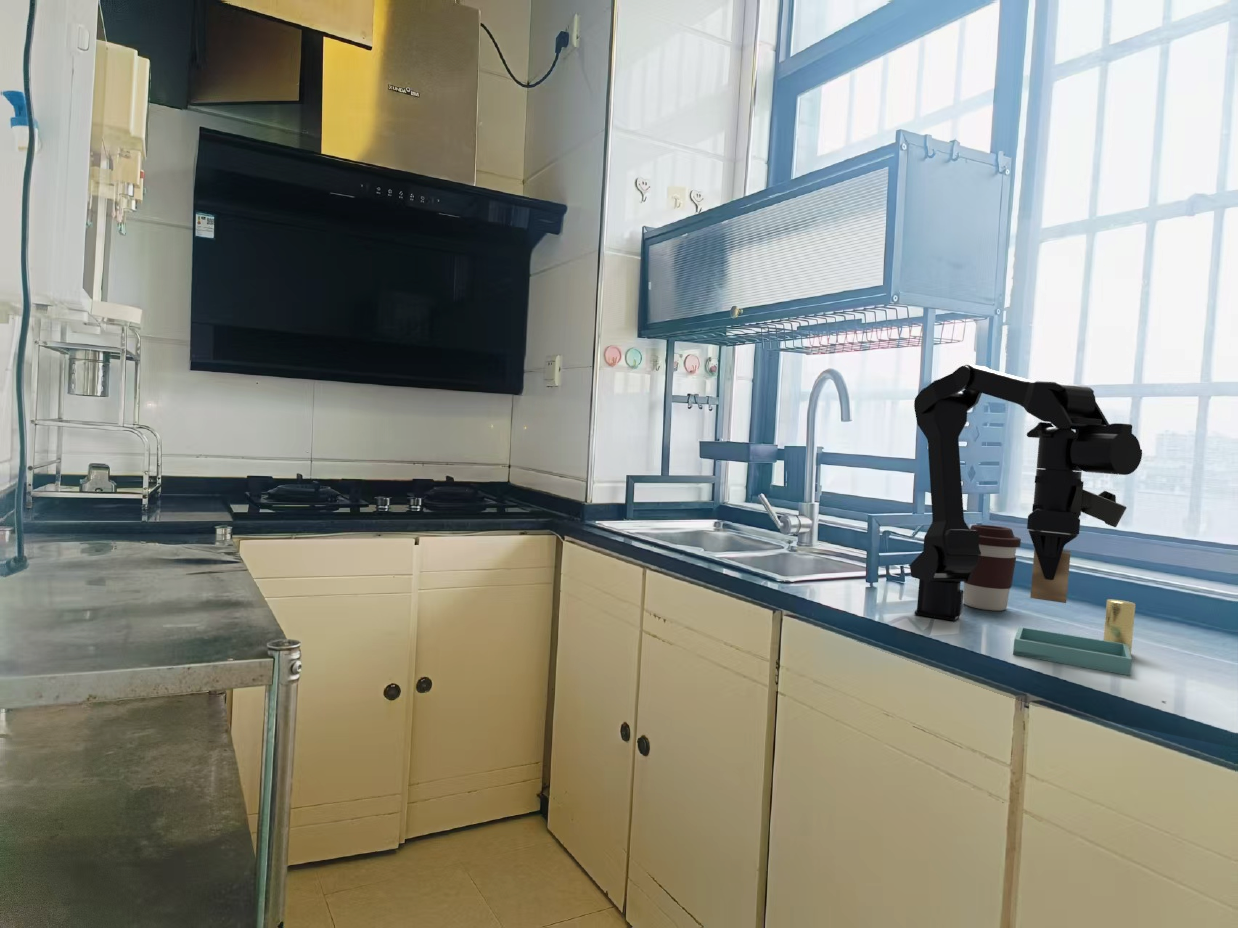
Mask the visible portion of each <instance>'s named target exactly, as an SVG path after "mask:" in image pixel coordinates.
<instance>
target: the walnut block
mask: <svg viewBox="0 0 1238 928" xmlns="http://www.w3.org/2000/svg"><path fill="white" fill-rule="evenodd" d="M1033 550H1034V551H1033V561H1032V571H1031V573H1032V574H1031V586H1030V599H1032V600H1033V599H1034V600H1041V601H1048V602H1054V603H1055V602H1056V603H1062V604H1067V597H1068V586H1069V576H1070V575H1069V574H1070V564H1071V550H1067V549H1065V550H1064V549H1063V551H1062V554H1061V558H1060V561H1059V564H1058V567H1057V570H1056V573H1055V577H1054V579H1053V580H1047V579H1045V578H1044V575H1043V572H1042V569H1041V566H1040V563H1039V560H1038V557H1037V554H1036V551H1035V549H1033Z"/></svg>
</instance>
